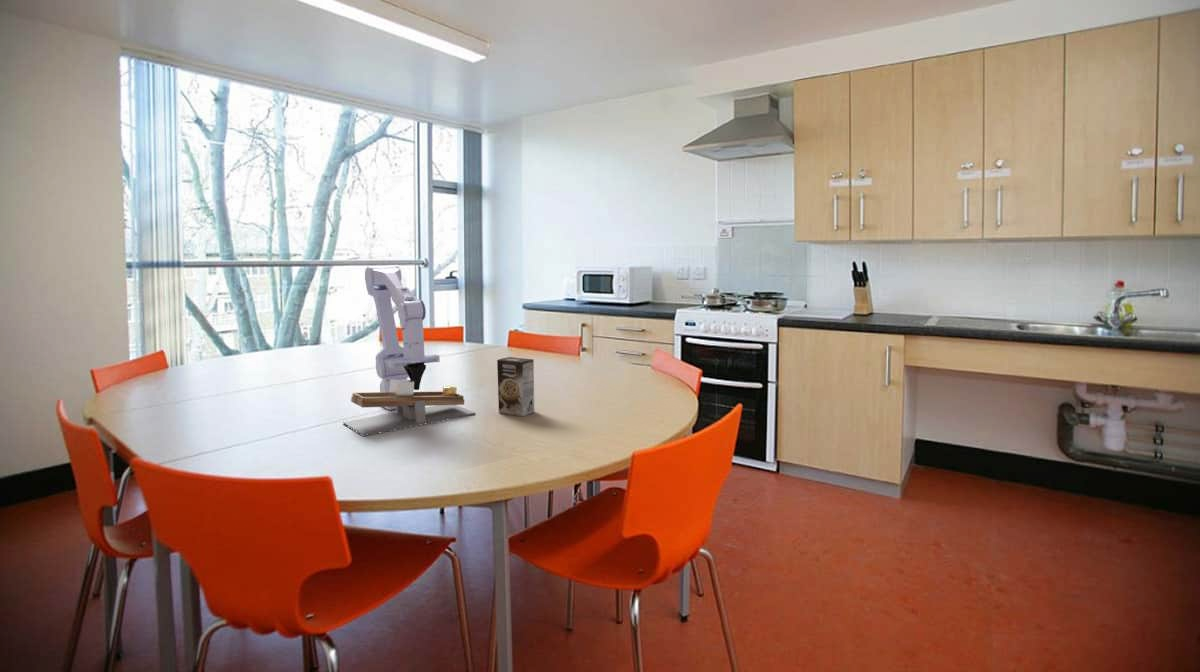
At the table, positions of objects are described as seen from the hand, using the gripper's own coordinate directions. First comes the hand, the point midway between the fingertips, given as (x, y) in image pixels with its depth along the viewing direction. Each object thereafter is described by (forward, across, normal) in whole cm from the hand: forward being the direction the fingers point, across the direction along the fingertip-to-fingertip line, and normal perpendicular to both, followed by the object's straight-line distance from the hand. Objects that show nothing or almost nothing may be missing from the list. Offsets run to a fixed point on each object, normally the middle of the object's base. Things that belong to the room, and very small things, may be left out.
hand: (416, 389), depth 185 cm
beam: (+3, -2, 0) cm, 4 cm away
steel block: (+2, -4, 0) cm, 5 cm away
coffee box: (+9, +25, -14) cm, 30 cm away
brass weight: (+4, +10, 0) cm, 11 cm away
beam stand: (+8, -2, 0) cm, 9 cm away
